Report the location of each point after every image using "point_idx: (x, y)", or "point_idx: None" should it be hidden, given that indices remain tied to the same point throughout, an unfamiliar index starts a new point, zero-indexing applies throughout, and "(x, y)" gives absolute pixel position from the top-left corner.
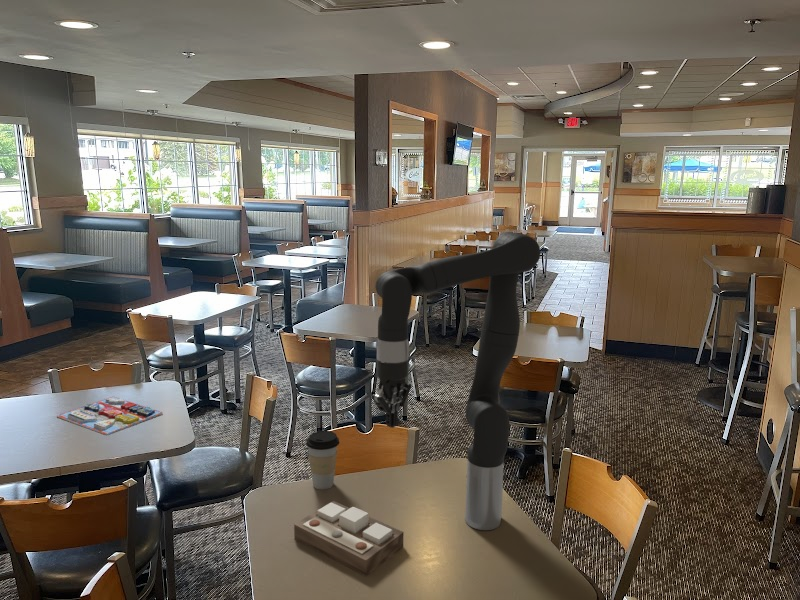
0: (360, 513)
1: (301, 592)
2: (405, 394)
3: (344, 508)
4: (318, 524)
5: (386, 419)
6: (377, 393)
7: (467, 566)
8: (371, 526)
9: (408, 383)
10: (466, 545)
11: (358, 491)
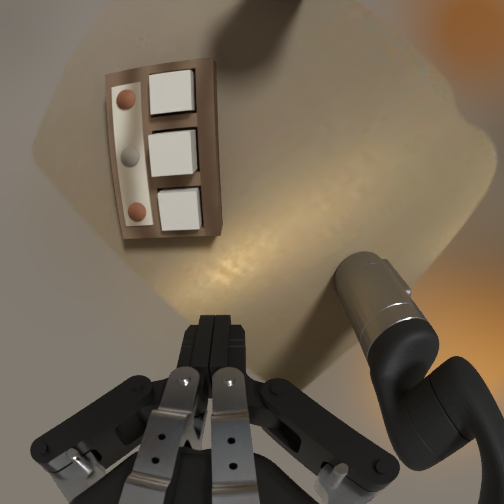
0: (181, 162)
1: (59, 189)
2: (308, 464)
3: (190, 107)
4: (126, 109)
5: (182, 346)
6: (56, 482)
7: (247, 313)
8: (180, 194)
9: (371, 498)
10: (289, 290)
11: (316, 45)
